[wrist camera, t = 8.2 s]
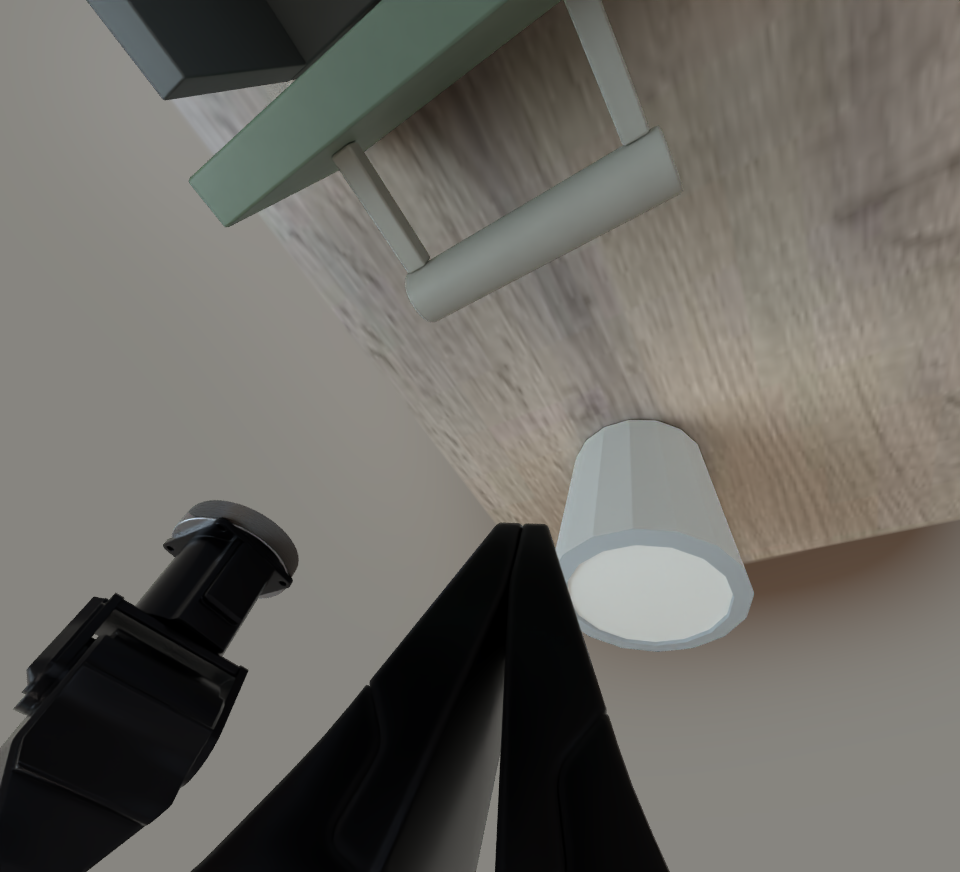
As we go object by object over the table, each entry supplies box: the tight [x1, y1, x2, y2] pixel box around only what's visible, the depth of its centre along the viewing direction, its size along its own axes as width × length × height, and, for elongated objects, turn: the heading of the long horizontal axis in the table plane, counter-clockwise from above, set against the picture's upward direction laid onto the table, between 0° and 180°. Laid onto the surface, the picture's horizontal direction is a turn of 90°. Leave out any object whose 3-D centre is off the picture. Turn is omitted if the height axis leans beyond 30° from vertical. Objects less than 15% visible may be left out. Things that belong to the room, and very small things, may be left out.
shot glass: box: [556, 420, 754, 652], centre depth 21 cm, size 7×7×7 cm
